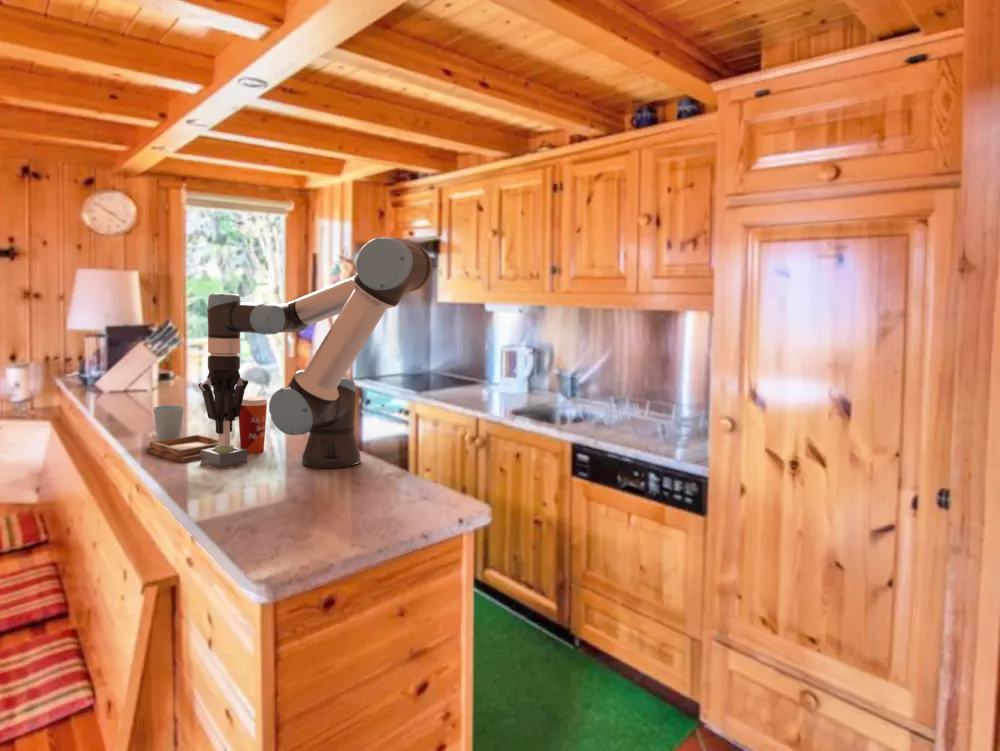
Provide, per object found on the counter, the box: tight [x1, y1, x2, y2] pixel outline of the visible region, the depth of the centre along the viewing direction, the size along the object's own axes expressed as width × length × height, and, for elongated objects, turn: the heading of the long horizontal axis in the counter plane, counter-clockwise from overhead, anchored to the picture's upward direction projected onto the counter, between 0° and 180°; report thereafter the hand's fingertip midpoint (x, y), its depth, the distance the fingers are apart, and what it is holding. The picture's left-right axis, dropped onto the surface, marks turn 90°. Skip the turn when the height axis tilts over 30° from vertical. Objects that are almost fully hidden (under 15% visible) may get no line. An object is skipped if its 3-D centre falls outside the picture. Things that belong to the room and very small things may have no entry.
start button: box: [215, 444, 234, 453], centre depth 164 cm, size 4×4×4 cm
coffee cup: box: [238, 395, 269, 454], centre depth 178 cm, size 8×8×15 cm
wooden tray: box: [146, 433, 218, 464], centre depth 174 cm, size 17×15×3 cm
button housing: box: [200, 445, 249, 470], centre depth 164 cm, size 8×8×4 cm
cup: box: [152, 405, 185, 441], centre depth 183 cm, size 8×8×10 cm
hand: (224, 445), depth 164 cm, fingers closed
